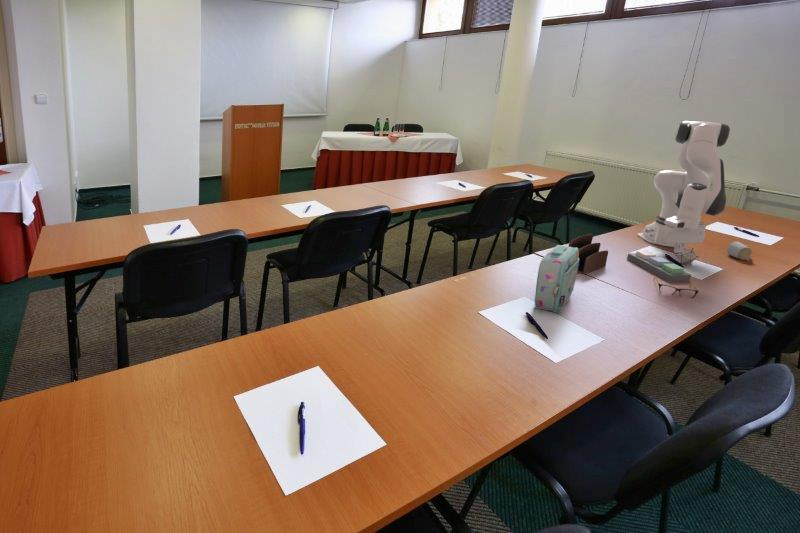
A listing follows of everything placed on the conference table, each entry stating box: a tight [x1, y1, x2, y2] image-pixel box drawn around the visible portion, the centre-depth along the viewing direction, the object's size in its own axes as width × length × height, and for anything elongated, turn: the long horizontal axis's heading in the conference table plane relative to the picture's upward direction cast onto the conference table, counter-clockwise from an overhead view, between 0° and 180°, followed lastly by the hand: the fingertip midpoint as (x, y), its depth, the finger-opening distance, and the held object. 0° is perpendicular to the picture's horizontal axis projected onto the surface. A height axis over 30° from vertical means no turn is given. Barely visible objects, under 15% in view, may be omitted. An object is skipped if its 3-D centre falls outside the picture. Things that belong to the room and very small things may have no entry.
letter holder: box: [567, 233, 609, 275], centre depth 209 cm, size 10×20×14 cm, turn 130°
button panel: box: [626, 252, 692, 283], centre depth 214 cm, size 28×11×3 cm, turn 13°
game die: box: [674, 247, 699, 266], centre depth 224 cm, size 9×8×10 cm
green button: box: [662, 263, 685, 273], centre depth 206 cm, size 6×6×3 cm
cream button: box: [635, 250, 657, 259], centre depth 221 cm, size 6×6×3 cm
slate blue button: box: [648, 256, 671, 266], centre depth 214 cm, size 6×6×3 cm
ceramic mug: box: [726, 241, 753, 261], centre depth 239 cm, size 11×8×8 cm
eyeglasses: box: [653, 277, 699, 299], centre depth 193 cm, size 14×14×4 cm
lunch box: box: [534, 244, 579, 314], centre depth 169 cm, size 27×10×21 cm, turn 150°
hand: (677, 252), depth 203 cm, fingers closed
